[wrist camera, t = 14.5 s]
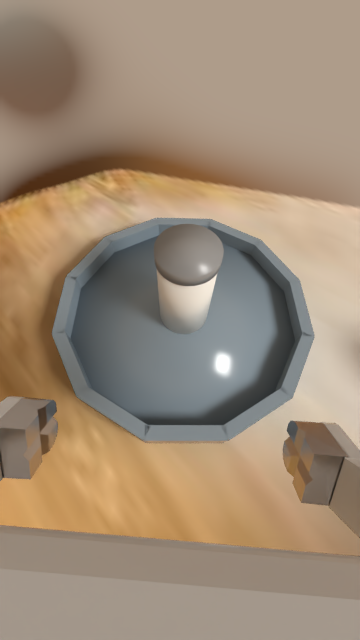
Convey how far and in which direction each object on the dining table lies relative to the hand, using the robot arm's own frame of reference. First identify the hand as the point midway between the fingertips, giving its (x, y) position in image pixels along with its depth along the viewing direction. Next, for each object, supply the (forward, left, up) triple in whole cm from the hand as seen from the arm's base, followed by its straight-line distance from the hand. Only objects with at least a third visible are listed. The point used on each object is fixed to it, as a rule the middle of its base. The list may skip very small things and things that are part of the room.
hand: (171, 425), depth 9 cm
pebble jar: (-5, +10, -12) cm, 16 cm away
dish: (-5, +10, -13) cm, 17 cm away
